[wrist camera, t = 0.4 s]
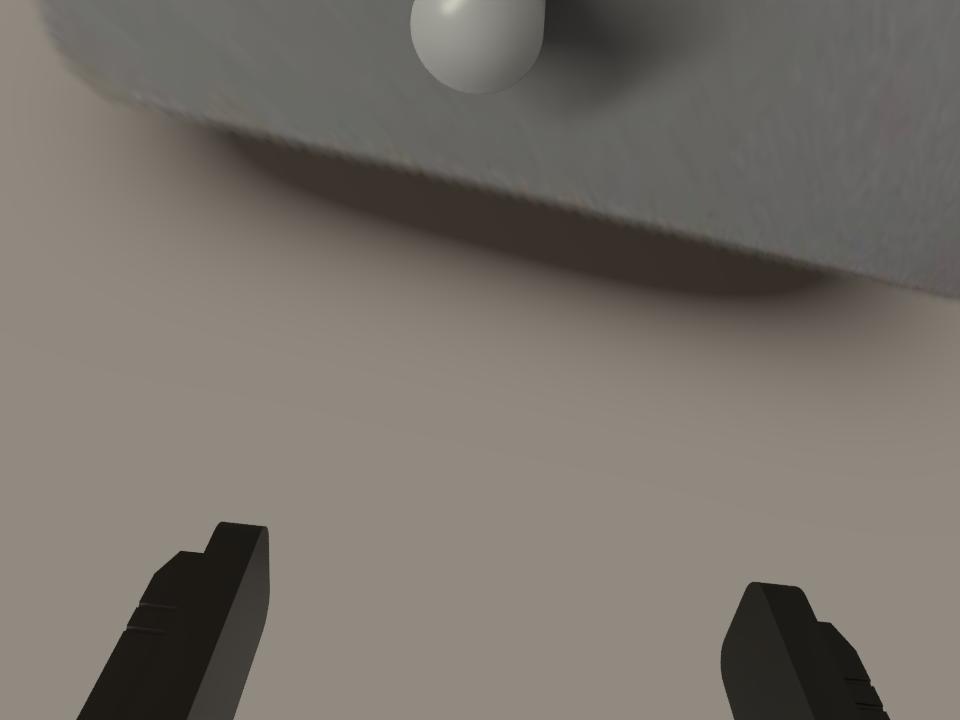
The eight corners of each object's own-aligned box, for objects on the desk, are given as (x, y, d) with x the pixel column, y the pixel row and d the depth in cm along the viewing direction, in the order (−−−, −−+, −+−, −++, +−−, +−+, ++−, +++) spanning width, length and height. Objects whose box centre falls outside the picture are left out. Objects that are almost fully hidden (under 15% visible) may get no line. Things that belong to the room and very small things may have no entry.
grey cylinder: (410, -60, 32) (386, -6, 28) (520, -115, 30) (511, -67, 26) (462, 49, 35) (447, 112, 31) (564, 5, 33) (563, 65, 29)
